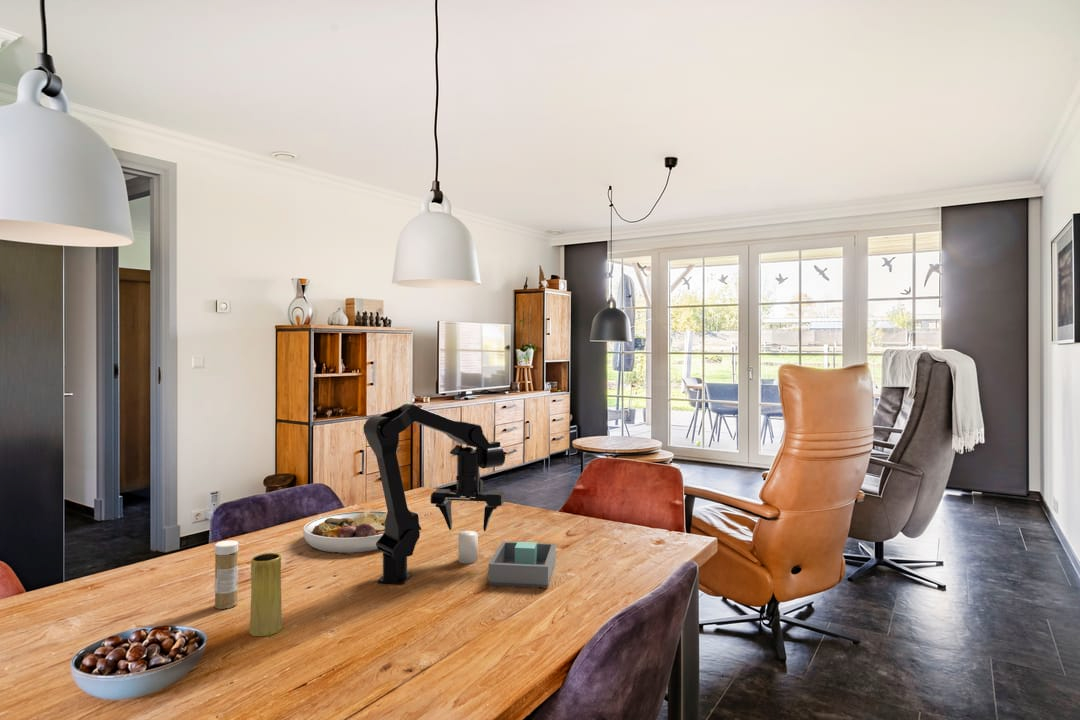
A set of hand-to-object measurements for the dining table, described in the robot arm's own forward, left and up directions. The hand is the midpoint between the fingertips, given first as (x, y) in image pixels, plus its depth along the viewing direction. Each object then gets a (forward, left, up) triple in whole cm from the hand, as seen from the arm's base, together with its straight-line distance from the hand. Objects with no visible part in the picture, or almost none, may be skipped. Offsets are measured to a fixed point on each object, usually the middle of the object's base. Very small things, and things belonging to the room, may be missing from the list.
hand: (467, 530), depth 163 cm
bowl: (+14, +36, -9) cm, 40 cm away
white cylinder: (0, 0, -8) cm, 8 cm away
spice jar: (-36, +44, -8) cm, 57 cm away
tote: (-8, -16, -8) cm, 20 cm away
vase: (-46, +29, -8) cm, 55 cm away
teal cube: (-4, -16, -7) cm, 18 cm away
